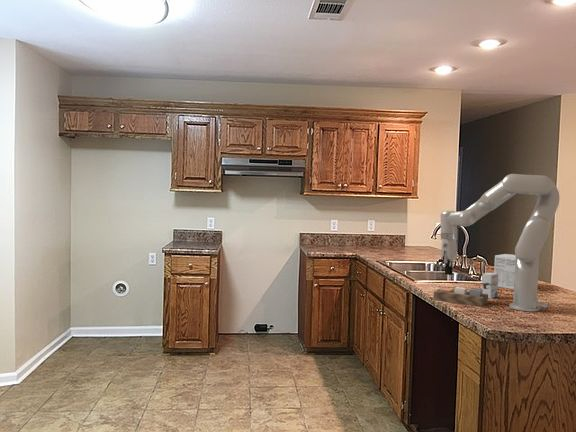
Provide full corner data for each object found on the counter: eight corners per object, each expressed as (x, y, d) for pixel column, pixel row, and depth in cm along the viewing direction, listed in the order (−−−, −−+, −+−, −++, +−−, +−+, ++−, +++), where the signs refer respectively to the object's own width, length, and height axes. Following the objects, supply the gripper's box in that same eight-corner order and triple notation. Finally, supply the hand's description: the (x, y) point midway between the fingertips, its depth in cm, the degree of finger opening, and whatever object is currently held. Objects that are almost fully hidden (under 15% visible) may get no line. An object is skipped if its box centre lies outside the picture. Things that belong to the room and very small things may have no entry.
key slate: (482, 297, 227) (482, 289, 227) (479, 299, 223) (480, 290, 223) (472, 296, 230) (472, 288, 230) (469, 297, 226) (469, 289, 226)
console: (487, 302, 229) (488, 294, 229) (481, 307, 219) (481, 298, 219) (441, 295, 242) (442, 287, 242) (433, 299, 232) (433, 291, 232)
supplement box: (516, 290, 262) (518, 258, 261) (492, 286, 272) (494, 255, 271) (527, 287, 271) (528, 256, 270) (503, 283, 281) (505, 253, 280)
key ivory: (467, 296, 231) (467, 287, 231) (464, 297, 227) (464, 289, 227) (457, 294, 234) (457, 286, 234) (454, 296, 230) (454, 287, 230)
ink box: (488, 294, 248) (489, 271, 247) (497, 296, 244) (498, 273, 244) (480, 297, 242) (481, 273, 241) (490, 298, 238) (491, 275, 238)
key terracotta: (452, 297, 235) (452, 289, 235) (449, 298, 232) (449, 290, 232) (442, 296, 238) (443, 287, 238) (439, 297, 234) (439, 289, 234)
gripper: (451, 237, 225) (451, 277, 226) (461, 235, 237) (461, 273, 238) (435, 237, 230) (435, 275, 230) (446, 235, 242) (446, 271, 242)
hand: (448, 274), depth 234 cm, fingers closed
